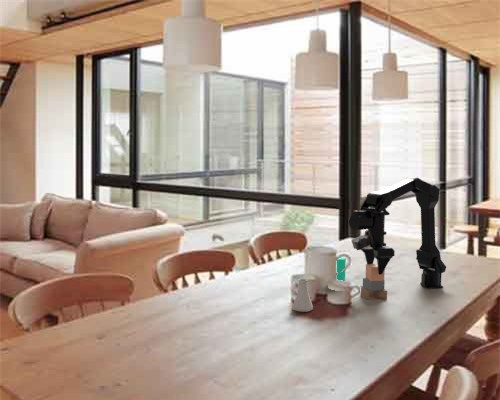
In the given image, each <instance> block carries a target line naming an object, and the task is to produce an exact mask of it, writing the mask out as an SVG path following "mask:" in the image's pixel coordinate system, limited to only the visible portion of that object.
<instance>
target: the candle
mask: <svg viewBox="0 0 500 400" xmlns="http://www.w3.org/2000/svg"><path fill="white" fill-rule="evenodd" d="M340 257H341V258H339V259H338V260H337V272H338V275H337V279H338V280H343V281H345V282H346V261H347V259H346V257H343V256H340ZM344 268H345V270H344V271H343V272H341V271H342V270H343V269H344ZM340 272H341V273H340Z"/></svg>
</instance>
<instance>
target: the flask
mask: <svg viewBox="0 0 500 400" xmlns="http://www.w3.org/2000/svg"><path fill="white" fill-rule="evenodd" d="M297 282H298V289H297V293H296V296H295V299H294V302H293V304H292V308H291V310H293V311H296V312H301V313H302V312H303V313H305V312H311V311H313V309H314V306H313V303H312V300H311V298H310V294H309V290H308V286H307V285H308V279H306V278H299V279H297Z"/></svg>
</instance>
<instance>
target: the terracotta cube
mask: <svg viewBox="0 0 500 400" xmlns="http://www.w3.org/2000/svg"><path fill="white" fill-rule="evenodd" d="M385 270H386V268H385V269H384V271H383V273H382V274H381V275H379V273H378V265H377V263H373V264H367V263H366V264H365V277H366V278H367V279H368V280H370V281H384V280H385V274H386V273H385Z"/></svg>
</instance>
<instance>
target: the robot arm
mask: <svg viewBox="0 0 500 400" xmlns="http://www.w3.org/2000/svg"><path fill="white" fill-rule="evenodd" d="M409 192H411V193H413V194H414V195H415V201H416V203H417V204H418V206H419V208H420V228H421V229H420V230H421V245H420V247H419V248H418V249H416V250H415V251H416V258H415V260H417V263H418V268H419V269H420V270H422V273H421V277H420V278H421V280H420V283H419V285H421V286H423V287H425V288H427V289H440V288H443V289H444V286H443V285H442V275H443V273H445V272H446V269H447V265H445V263H444V261H442V256H441V252H440V250H439V248H438V247H437V244H436V215H435V214H436V213H435V209H436V206H437V205H438V203H439V198H440V189H439V187H438V186H437V185H436V184H431V183H429V182H426V181H424V180H422V179H421V178H419V177H414V176H413V177H412V176H409V177H406V178H405V179H404V180H402V181H400V182H398V183H396V184H393V185H392V186H390V187H388V188H386V189H385V188H384V189H382V190H376V191H370V192H368V193H367V194H366V197H365V200H364V201H363V203H362V205H361V206H360V208H359V209H358V210H353V212H352V214H351V215H350V216H349V219H348V225H349V227H350V229H351V230H352V231H363V230H365V231H364V234H363V235H359V236H357V237H355V238H352V239H351V243H352V247H353V249H355V250H356V251H361V252H363V254H364V259H365V261H366V264H374V261H375V260H376V264H377V265H378V273H379V275H381V274H382V273H383V271H384V269H385V270H386V267H387V265H388V264H389V263H390V261H391V259H393V257H395V249H394V248H392V247H391V246H387V243H386V242H385V236H386V235H387V231H385V223H386V221H385V219H386V216H389V215H390V212H389V211H388V210H387V208H389V207H390V206H391V205H392V203H393V201H395V200H396V199H398V198H400V197H402V196H404V195H406V194H408V193H409Z"/></svg>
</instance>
